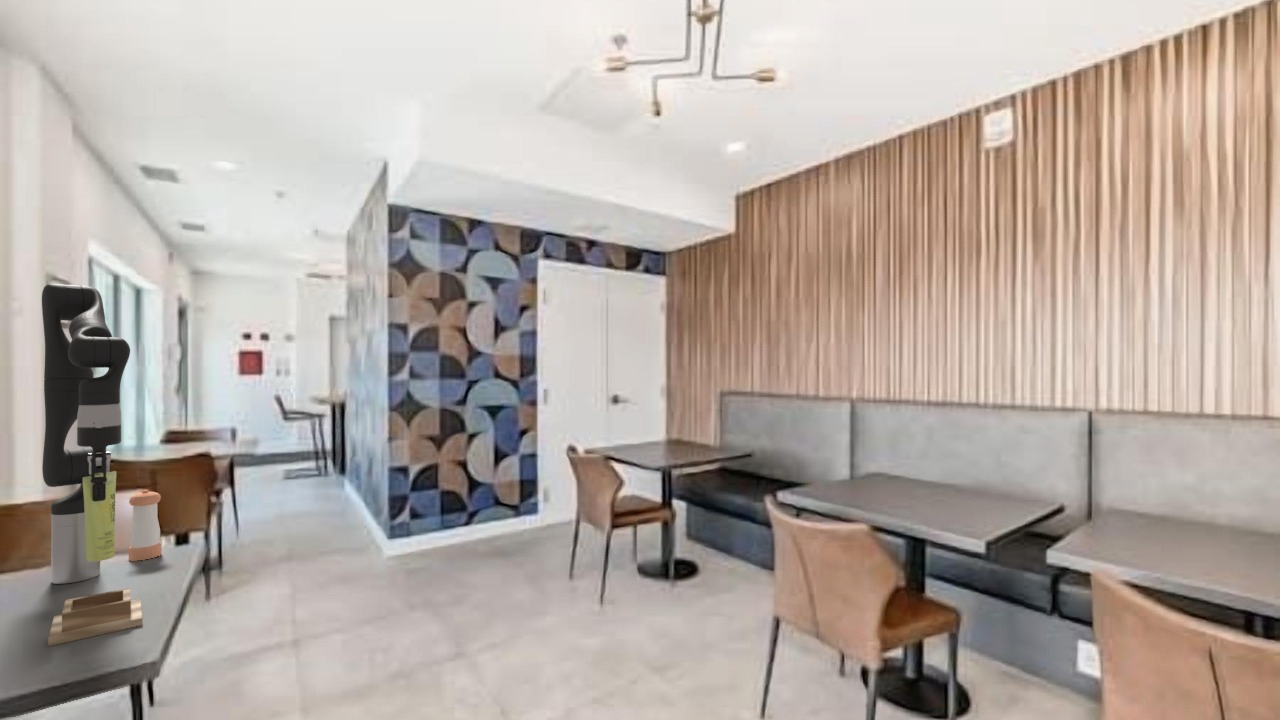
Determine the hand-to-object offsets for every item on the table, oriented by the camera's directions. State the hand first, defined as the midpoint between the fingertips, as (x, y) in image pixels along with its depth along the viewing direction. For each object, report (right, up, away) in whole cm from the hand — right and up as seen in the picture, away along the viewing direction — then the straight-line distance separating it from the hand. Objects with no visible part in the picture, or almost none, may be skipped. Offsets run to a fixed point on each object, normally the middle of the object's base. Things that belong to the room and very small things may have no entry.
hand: (99, 498), depth 138 cm
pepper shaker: (-17, -25, +34) cm, 45 cm away
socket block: (+10, -24, -12) cm, 28 cm away
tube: (0, -14, 0) cm, 14 cm away
